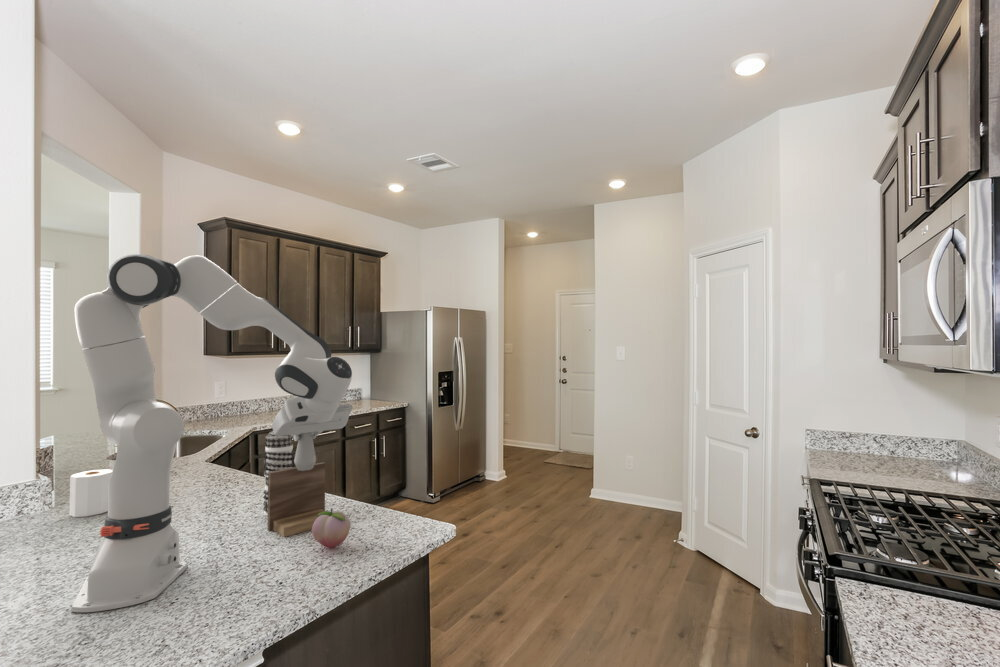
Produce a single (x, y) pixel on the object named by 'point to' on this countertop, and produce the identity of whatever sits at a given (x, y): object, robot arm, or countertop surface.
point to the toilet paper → (89, 492)
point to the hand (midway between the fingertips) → (304, 438)
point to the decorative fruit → (331, 528)
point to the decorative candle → (276, 458)
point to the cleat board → (295, 499)
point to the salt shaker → (305, 453)
